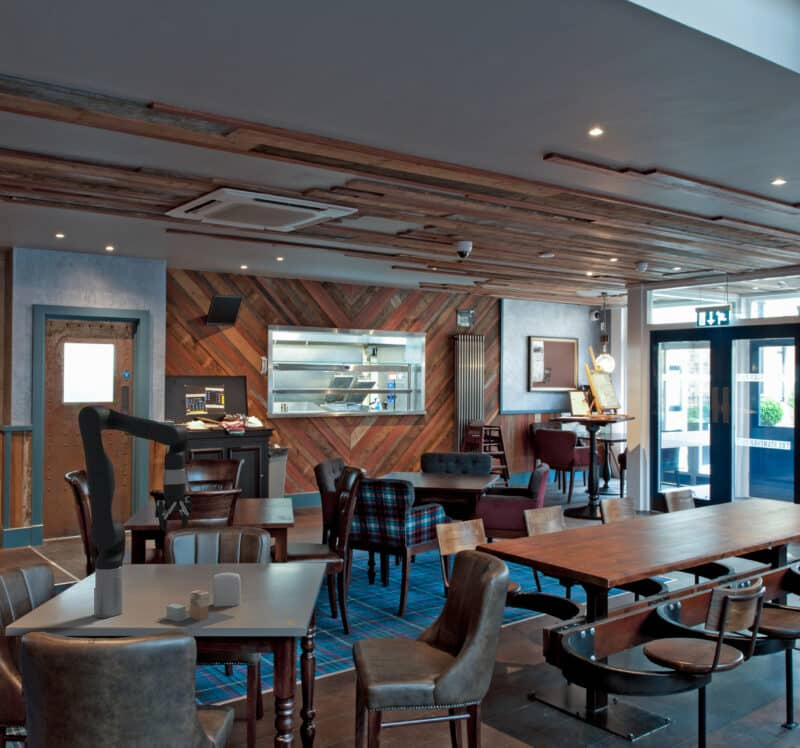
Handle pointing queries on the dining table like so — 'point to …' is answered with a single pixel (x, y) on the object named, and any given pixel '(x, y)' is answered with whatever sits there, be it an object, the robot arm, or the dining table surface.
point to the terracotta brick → (198, 612)
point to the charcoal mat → (195, 624)
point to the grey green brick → (175, 612)
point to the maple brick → (199, 598)
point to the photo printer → (227, 589)
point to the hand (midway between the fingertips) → (174, 528)
